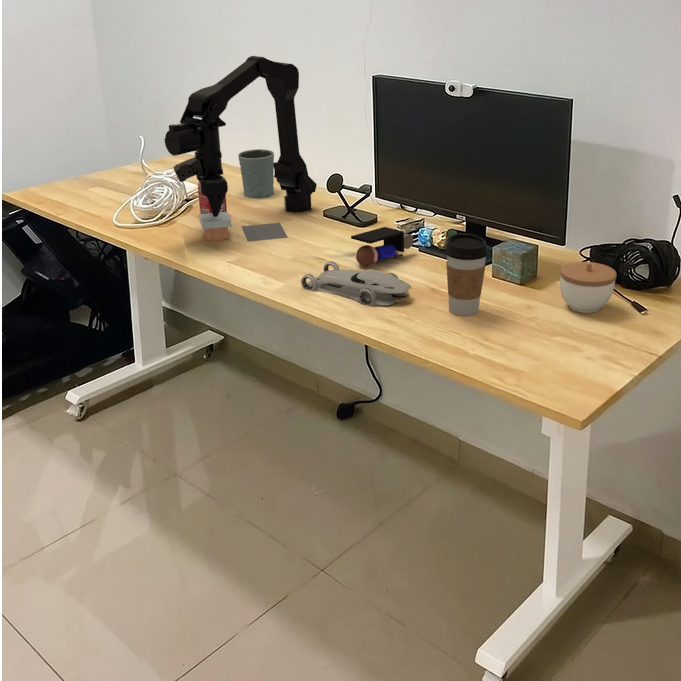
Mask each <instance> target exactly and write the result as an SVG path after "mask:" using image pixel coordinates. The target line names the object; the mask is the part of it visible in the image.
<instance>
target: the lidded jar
mask: <svg viewBox="0 0 681 681" xmlns="http://www.w3.org/2000/svg"><path fill="white" fill-rule="evenodd" d="M617 276H618V274H617V272H616V270H615V269H614V268H612V267H610V266H609V265H606V264H602V263H597V262H590V261H576V262H575V261H574V262H569V263H567V264H564V265H563V266H562V267H561V269H560V280H559V281H560V282H559V287H560V293H561V296H562V299H563V300H564V302H565V303H566V304H567V305H568V307H569V309H571V310H572V311H574V312H578V313H583V314H590V313H591V314H593V313H596V312H599V311H600V309H601V308H603V307H604V306H606V305H607V303H608V302H609V301H610V300H611V297H612V295H613V292H614V290H615V283H616V280H617Z"/></svg>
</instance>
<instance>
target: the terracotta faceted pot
mask: <svg viewBox="0 0 681 681" xmlns="http://www.w3.org/2000/svg"><path fill="white" fill-rule="evenodd" d="M229 235H230V234H229V227H220V228H210V229H203V236H204V239H205V240H208V241H213V242H215V241H223V240H225V239H227V238H229Z"/></svg>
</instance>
